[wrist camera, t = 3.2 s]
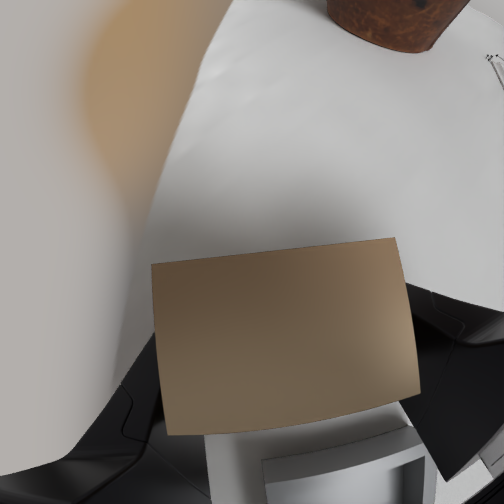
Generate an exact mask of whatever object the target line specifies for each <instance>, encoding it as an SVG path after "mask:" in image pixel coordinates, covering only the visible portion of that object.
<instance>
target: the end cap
mask: <svg viewBox="0 0 504 504" xmlns="http://www.w3.org/2000/svg"><path fill="white" fill-rule="evenodd" d="M261 461H262V468H263V475H264V482H265V489H266V497H267V503H268V504H434V502H435V493H436V480H437V466H436V464H435V462H434V461H433V459H432V457H431V455H430V454H429V452H428V450H427V448H426V447H425V445H424V443H423V442H422V440H421V438H420V436H419V435H418V433H417V431H416V429H415V428H414V427H412V426H406V427H403V428H400V429H397V430H394V431H391V432H388V433H385V434H382V435H379V436H375V437H372V438H368V439H365V440H361V441H358V442H354V443H350V444H346V445H342V446H338V447H334V448H329V449H325V450H320V451H315V452H310V453H305V454H299V455H293V456H287V457H281V458H274V459H266V460H261Z"/></svg>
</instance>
